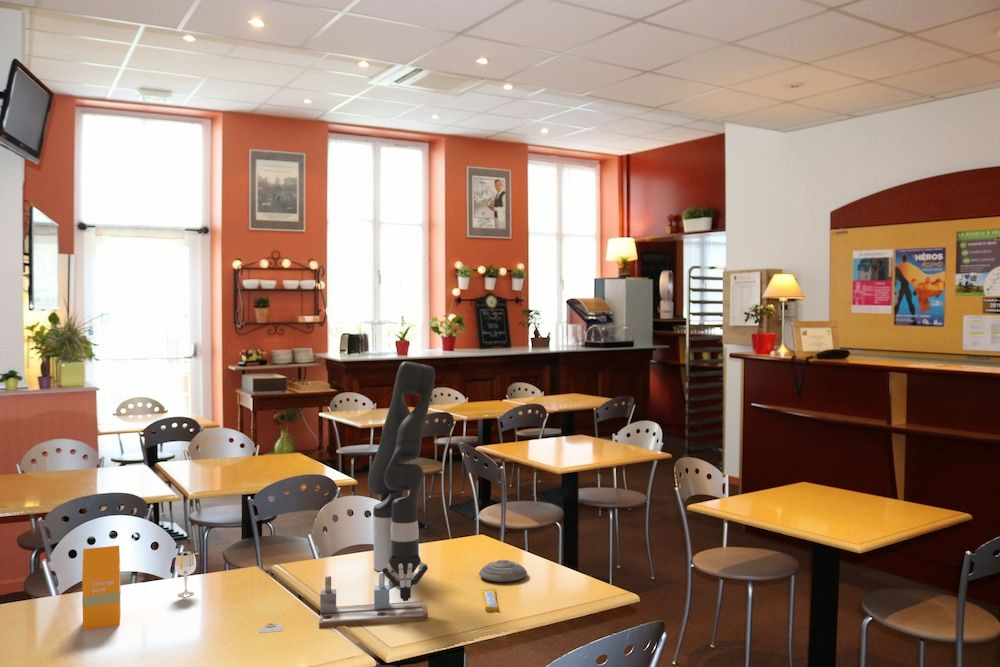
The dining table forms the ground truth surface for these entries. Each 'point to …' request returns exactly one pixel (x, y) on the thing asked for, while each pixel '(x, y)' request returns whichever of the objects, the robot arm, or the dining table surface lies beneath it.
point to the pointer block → (381, 593)
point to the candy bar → (490, 600)
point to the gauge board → (365, 611)
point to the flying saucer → (503, 571)
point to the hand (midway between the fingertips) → (405, 600)
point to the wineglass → (185, 568)
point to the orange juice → (101, 587)
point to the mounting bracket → (271, 628)
